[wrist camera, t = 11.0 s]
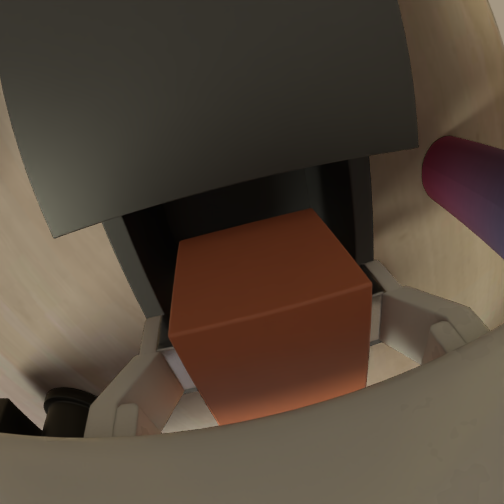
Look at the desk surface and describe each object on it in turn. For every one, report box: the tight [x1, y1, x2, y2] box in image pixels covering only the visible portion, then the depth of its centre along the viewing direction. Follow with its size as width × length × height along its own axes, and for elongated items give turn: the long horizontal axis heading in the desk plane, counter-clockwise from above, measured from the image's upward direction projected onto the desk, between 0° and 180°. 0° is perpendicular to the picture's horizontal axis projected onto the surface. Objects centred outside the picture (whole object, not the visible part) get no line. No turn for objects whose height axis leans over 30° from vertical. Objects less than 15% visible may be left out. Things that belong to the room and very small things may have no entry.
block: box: [168, 208, 372, 426], centre depth 9 cm, size 4×4×4 cm
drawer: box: [102, 156, 382, 394], centre depth 15 cm, size 18×10×7 cm, turn 12°
